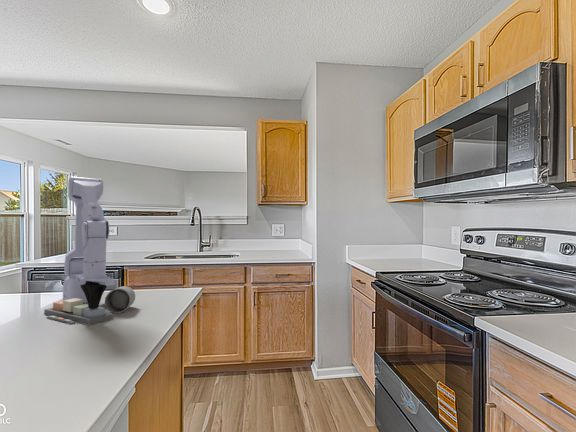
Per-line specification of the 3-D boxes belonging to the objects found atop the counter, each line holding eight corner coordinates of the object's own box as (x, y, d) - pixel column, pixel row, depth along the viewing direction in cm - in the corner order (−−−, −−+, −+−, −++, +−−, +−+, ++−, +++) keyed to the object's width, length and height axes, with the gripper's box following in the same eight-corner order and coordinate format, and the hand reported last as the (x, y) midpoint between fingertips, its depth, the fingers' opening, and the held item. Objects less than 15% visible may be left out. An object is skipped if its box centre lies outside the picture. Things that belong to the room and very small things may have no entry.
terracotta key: (52, 312, 105) (53, 302, 105) (65, 309, 108) (65, 299, 108) (60, 313, 103) (60, 304, 103) (72, 311, 106) (73, 301, 106)
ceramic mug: (136, 306, 115) (136, 283, 115) (130, 312, 107) (130, 288, 107) (102, 307, 113) (102, 284, 113) (93, 314, 105) (93, 289, 105)
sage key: (72, 316, 100) (73, 306, 100) (85, 313, 104) (85, 303, 104) (80, 318, 99) (81, 308, 99) (93, 315, 102) (93, 305, 102)
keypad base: (44, 314, 104) (44, 309, 104) (67, 308, 110) (67, 304, 110) (90, 325, 94) (90, 320, 94) (112, 318, 100) (113, 313, 100)
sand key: (62, 310, 102) (63, 300, 102) (75, 307, 106) (75, 298, 106) (70, 312, 101) (70, 302, 101) (83, 309, 104) (83, 299, 104)
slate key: (83, 319, 98) (83, 309, 98) (96, 316, 101) (96, 306, 101) (91, 321, 96) (92, 310, 96) (104, 318, 100) (104, 307, 100)
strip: (46, 318, 100) (46, 315, 100) (50, 317, 101) (50, 314, 101) (71, 324, 95) (71, 321, 95) (74, 323, 95) (75, 320, 95)
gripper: (65, 261, 99) (64, 307, 99) (98, 264, 92) (96, 314, 92) (89, 258, 105) (88, 302, 105) (120, 262, 99) (119, 308, 99)
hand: (93, 307), depth 99 cm, fingers closed
